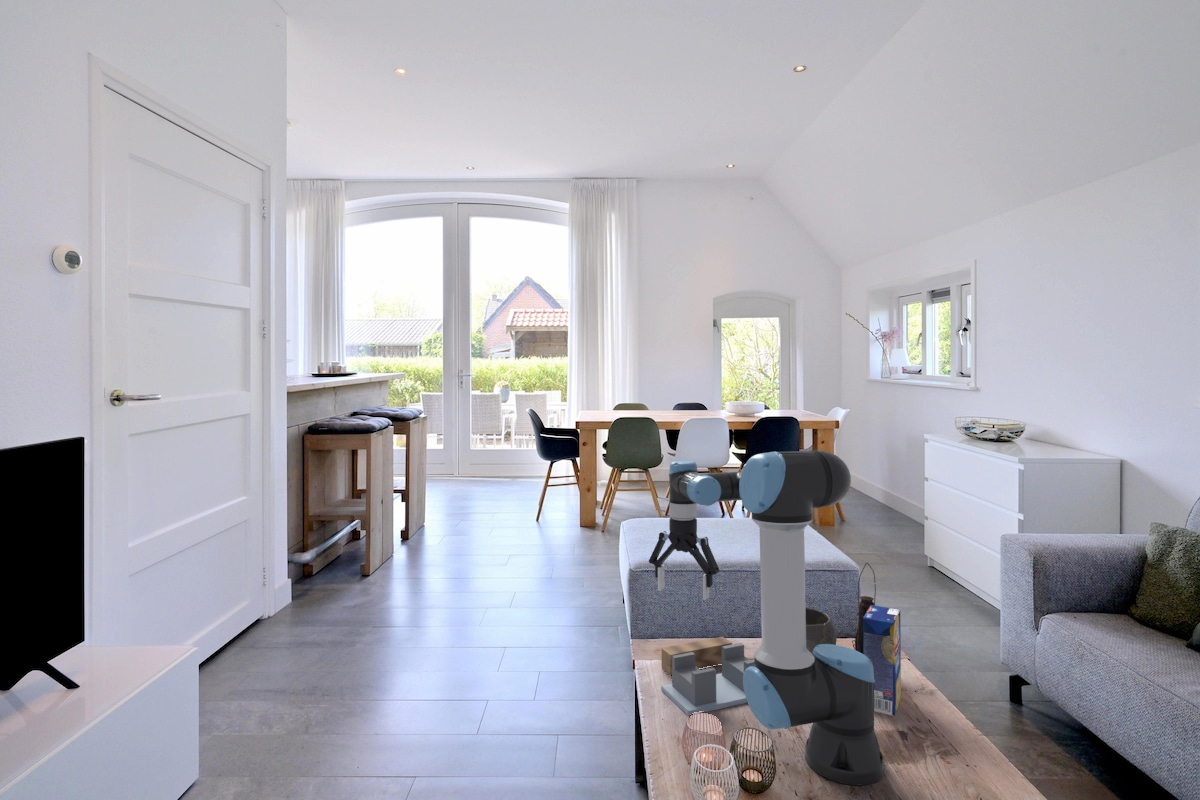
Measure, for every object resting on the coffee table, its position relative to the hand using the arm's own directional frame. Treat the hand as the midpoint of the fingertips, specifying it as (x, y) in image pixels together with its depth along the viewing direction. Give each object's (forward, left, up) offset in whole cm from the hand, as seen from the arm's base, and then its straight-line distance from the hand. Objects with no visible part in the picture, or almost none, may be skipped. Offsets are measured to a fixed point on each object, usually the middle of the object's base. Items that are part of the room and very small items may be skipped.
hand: (683, 593), depth 174 cm
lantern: (-21, -45, -21) cm, 54 cm away
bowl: (-7, -35, -21) cm, 41 cm away
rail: (+1, -5, -21) cm, 22 cm away
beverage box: (-35, -36, -21) cm, 55 cm away
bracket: (-15, -2, -21) cm, 26 cm away
